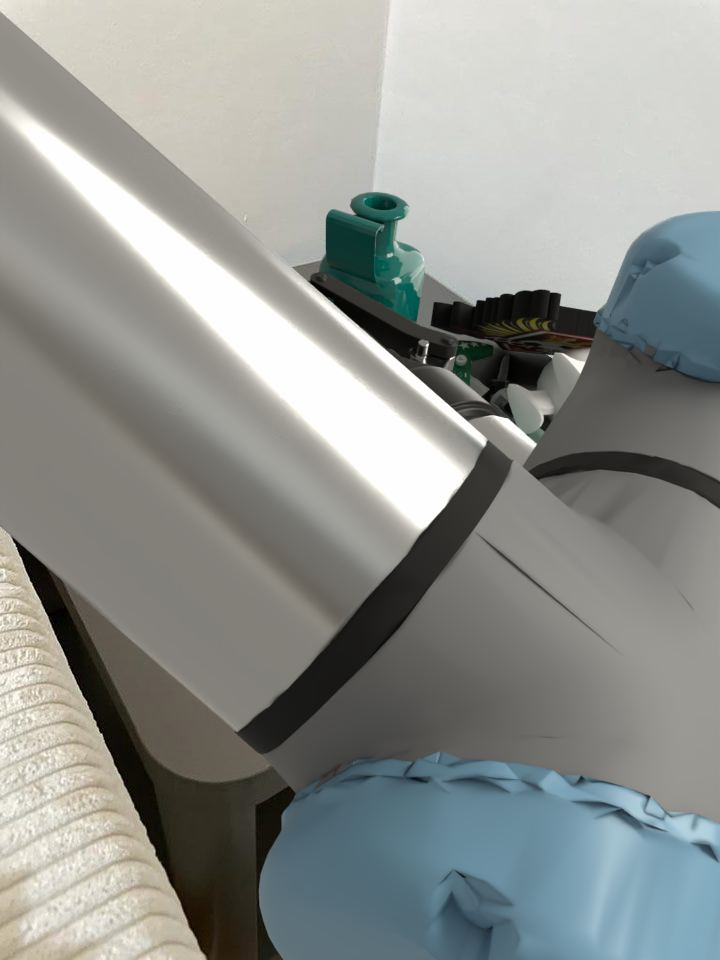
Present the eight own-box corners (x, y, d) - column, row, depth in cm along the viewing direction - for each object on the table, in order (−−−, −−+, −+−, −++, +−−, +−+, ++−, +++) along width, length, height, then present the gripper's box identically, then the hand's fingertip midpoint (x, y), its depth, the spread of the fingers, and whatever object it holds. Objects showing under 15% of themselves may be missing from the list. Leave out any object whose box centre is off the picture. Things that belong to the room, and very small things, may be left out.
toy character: (606, 402, 74) (656, 407, 86) (557, 317, 76) (613, 334, 88) (523, 453, 78) (582, 451, 91) (480, 372, 81) (543, 381, 93)
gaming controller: (486, 412, 84) (427, 412, 85) (490, 427, 87) (433, 427, 89) (491, 330, 87) (434, 332, 88) (495, 348, 90) (440, 349, 92)
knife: (505, 352, 98) (506, 349, 98) (520, 357, 98) (521, 353, 97) (482, 399, 91) (483, 396, 91) (499, 404, 91) (499, 401, 90)
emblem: (589, 349, 104) (726, 340, 87) (586, 369, 104) (722, 363, 87) (411, 306, 92) (529, 284, 74) (408, 328, 92) (525, 312, 74)
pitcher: (342, 366, 93) (360, 171, 78) (410, 392, 90) (443, 196, 75) (296, 411, 86) (307, 207, 71) (369, 441, 84) (396, 236, 69)
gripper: (316, 588, 37) (112, 324, 50) (533, 492, 43) (298, 280, 57) (328, 460, 32) (97, 205, 45) (572, 372, 38) (303, 170, 51)
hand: (209, 247), depth 51 cm, fingers closed
